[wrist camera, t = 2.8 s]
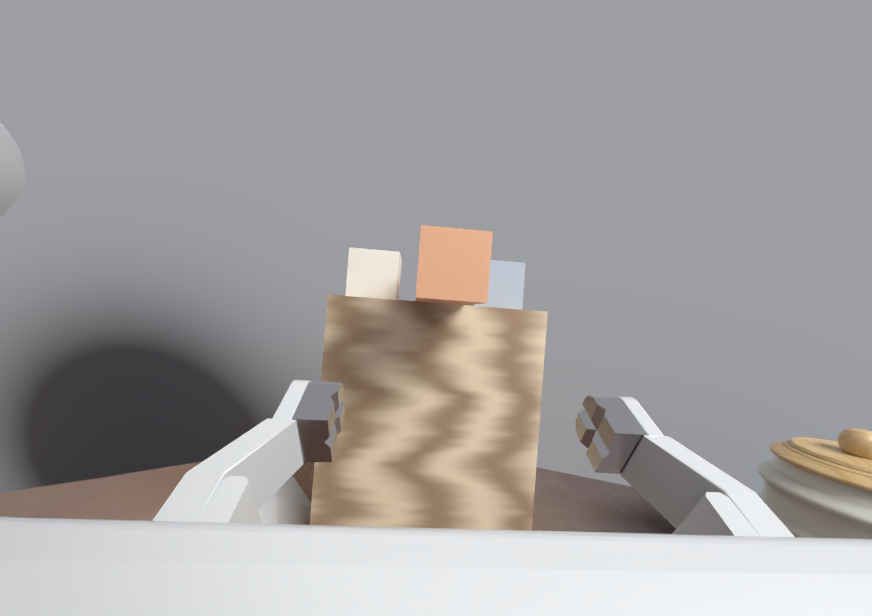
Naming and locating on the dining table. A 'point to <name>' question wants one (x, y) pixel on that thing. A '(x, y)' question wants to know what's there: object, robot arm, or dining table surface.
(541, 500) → the dining table surface
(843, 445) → the jar
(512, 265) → the cube slate
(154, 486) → the dining table surface
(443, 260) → the bar terracotta
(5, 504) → the dining table surface
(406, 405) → the oak stand
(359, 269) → the cube cream
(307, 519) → the die
